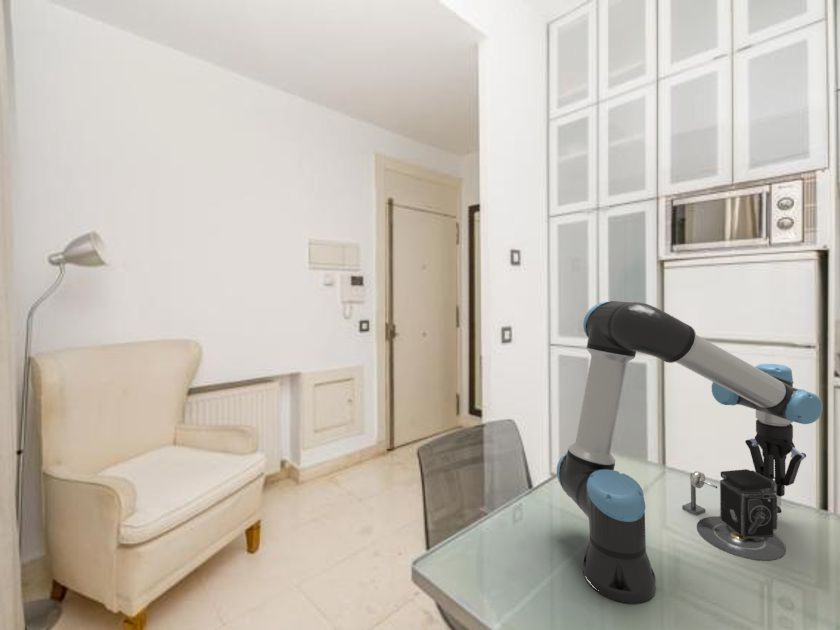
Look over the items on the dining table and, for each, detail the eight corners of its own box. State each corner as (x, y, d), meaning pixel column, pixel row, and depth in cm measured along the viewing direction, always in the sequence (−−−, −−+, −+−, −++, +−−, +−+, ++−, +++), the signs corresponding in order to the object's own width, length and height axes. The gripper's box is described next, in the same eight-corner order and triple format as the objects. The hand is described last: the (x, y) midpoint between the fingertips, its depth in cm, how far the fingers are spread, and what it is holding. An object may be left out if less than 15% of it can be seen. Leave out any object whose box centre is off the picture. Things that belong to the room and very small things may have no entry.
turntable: (757, 569, 92) (757, 568, 92) (681, 528, 109) (681, 527, 109) (802, 546, 98) (801, 545, 98) (723, 510, 115) (723, 509, 115)
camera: (788, 542, 100) (788, 484, 99) (746, 543, 100) (745, 486, 99) (754, 518, 110) (754, 466, 109) (716, 520, 111) (715, 467, 110)
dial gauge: (712, 524, 109) (711, 481, 109) (681, 509, 117) (680, 469, 117) (722, 519, 111) (721, 477, 110) (691, 505, 119) (690, 465, 118)
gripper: (812, 425, 103) (812, 513, 104) (754, 412, 115) (755, 491, 116) (795, 431, 100) (796, 521, 102) (738, 417, 112) (739, 497, 114)
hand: (774, 505), depth 109 cm, fingers closed
